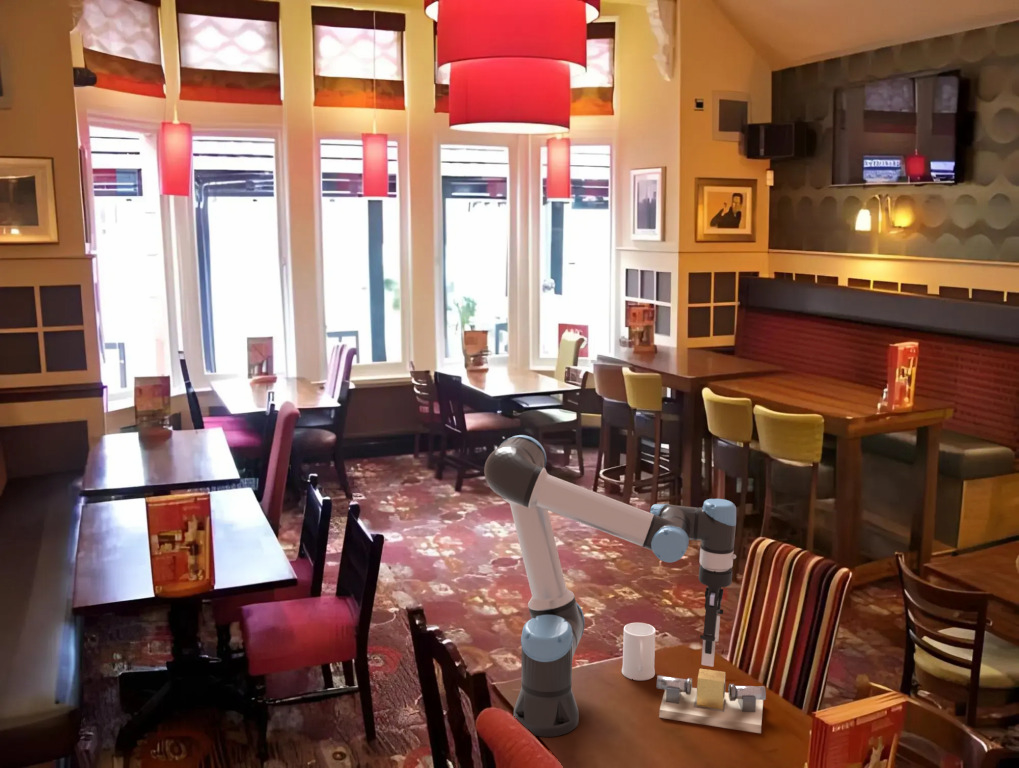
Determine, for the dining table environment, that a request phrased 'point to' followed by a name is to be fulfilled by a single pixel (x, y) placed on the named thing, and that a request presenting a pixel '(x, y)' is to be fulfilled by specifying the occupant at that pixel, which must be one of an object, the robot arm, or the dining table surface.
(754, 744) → the dining table surface
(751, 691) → the shaft right
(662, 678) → the shaft left
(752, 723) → the bench
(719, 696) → the wooden block with hole
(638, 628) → the mug
